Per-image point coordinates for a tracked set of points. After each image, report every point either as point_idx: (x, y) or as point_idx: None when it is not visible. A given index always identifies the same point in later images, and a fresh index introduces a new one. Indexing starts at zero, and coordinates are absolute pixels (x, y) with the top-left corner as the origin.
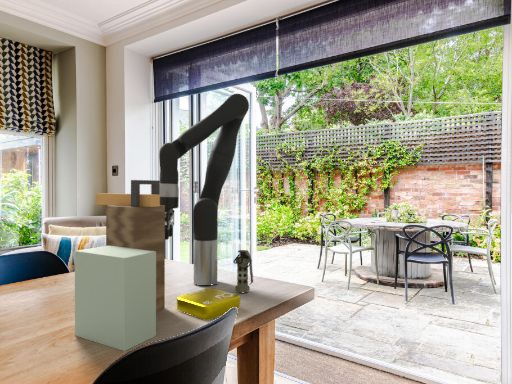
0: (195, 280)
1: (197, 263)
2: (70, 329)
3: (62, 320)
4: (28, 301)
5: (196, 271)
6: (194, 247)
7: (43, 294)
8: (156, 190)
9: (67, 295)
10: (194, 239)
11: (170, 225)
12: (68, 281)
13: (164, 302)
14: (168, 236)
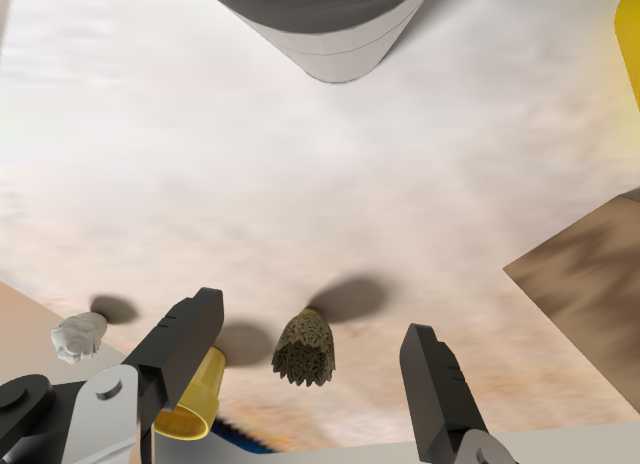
0: (367, 72)
1: (393, 42)
2: None
3: (558, 378)
4: (400, 423)
5: (378, 60)
6: (364, 45)
7: (359, 413)
8: None
9: (378, 386)
10: (369, 19)
11: (141, 410)
12: (265, 393)
13: (637, 202)
14: (438, 346)
